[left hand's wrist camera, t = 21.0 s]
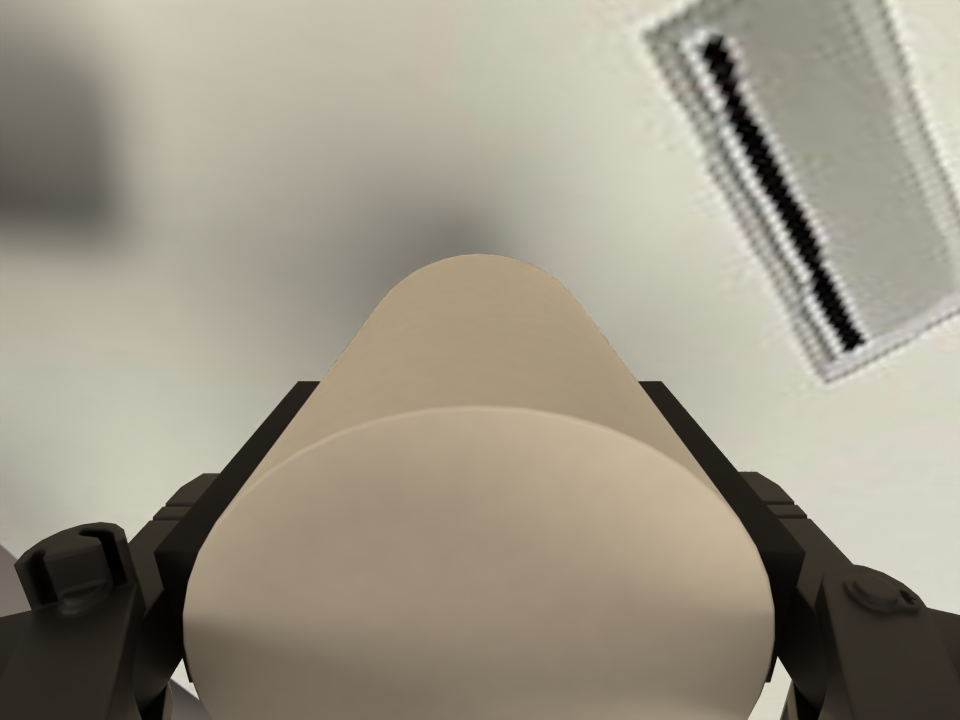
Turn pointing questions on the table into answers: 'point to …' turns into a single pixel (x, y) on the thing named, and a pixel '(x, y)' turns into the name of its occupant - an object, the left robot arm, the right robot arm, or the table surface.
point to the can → (479, 532)
